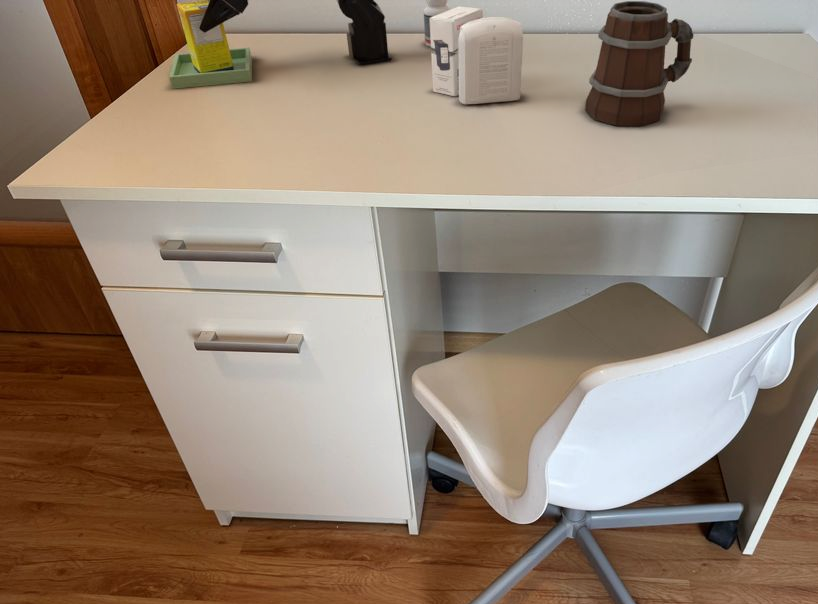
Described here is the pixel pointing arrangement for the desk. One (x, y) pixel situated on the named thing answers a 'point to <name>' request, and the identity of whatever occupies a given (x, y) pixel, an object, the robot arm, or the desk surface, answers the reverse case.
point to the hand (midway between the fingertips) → (203, 23)
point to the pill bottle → (435, 7)
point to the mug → (636, 64)
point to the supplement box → (204, 39)
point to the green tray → (189, 77)
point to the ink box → (448, 47)
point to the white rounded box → (490, 60)
